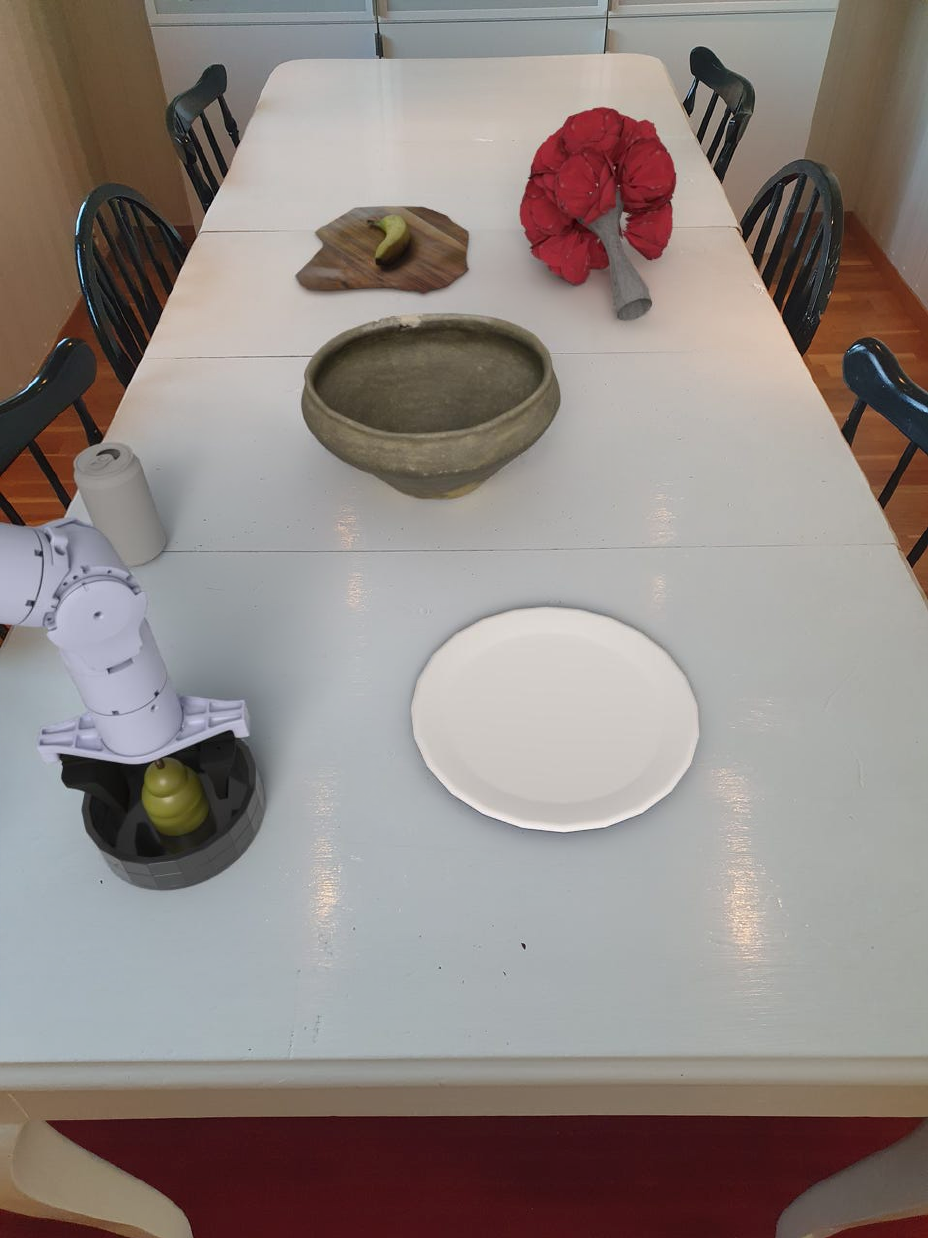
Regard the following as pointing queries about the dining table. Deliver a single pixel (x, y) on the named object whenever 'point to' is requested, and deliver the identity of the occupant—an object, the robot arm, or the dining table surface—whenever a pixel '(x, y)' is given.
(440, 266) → the cutting board
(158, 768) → the pear
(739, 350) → the dining table surface
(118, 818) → the pan
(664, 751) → the plate
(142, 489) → the beverage can
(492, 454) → the bowl
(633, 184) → the bouquet
